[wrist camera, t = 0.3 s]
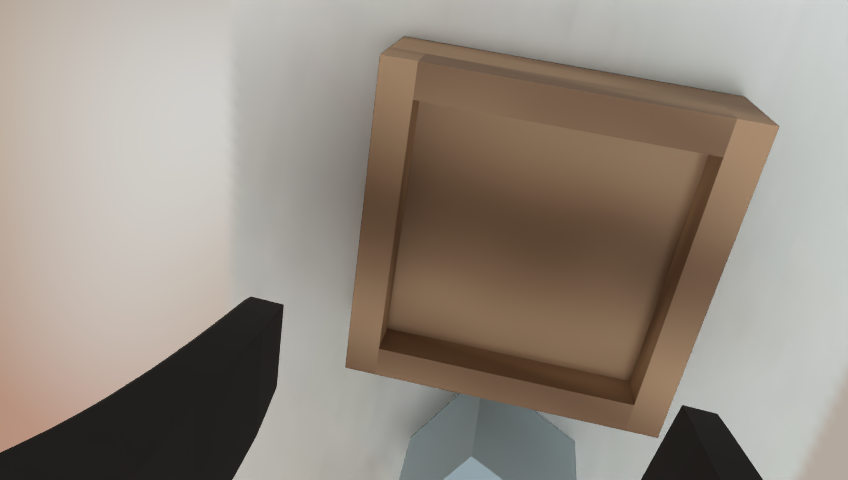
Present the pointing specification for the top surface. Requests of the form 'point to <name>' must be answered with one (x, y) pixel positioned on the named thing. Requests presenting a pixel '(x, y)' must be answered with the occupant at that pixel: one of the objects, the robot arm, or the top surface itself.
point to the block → (488, 445)
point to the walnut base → (545, 229)
